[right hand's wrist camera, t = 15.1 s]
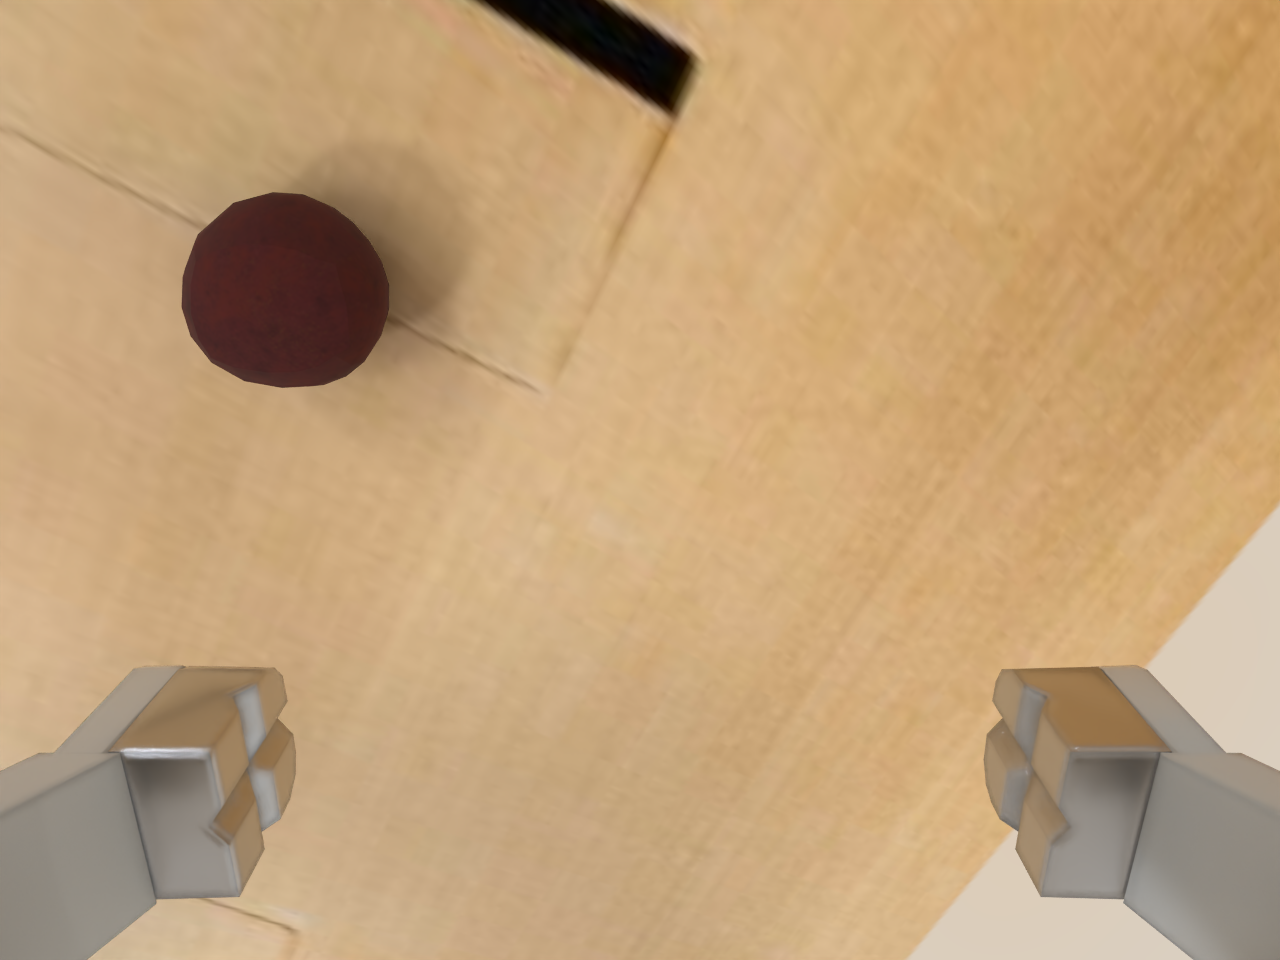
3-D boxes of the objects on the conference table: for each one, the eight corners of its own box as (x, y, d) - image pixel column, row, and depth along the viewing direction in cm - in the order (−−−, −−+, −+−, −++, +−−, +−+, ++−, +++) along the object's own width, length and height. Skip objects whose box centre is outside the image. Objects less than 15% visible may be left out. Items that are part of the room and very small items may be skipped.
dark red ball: (416, 361, 40) (373, 407, 33) (240, 365, 40) (162, 411, 33) (397, 185, 37) (345, 197, 31) (208, 189, 37) (116, 202, 31)
